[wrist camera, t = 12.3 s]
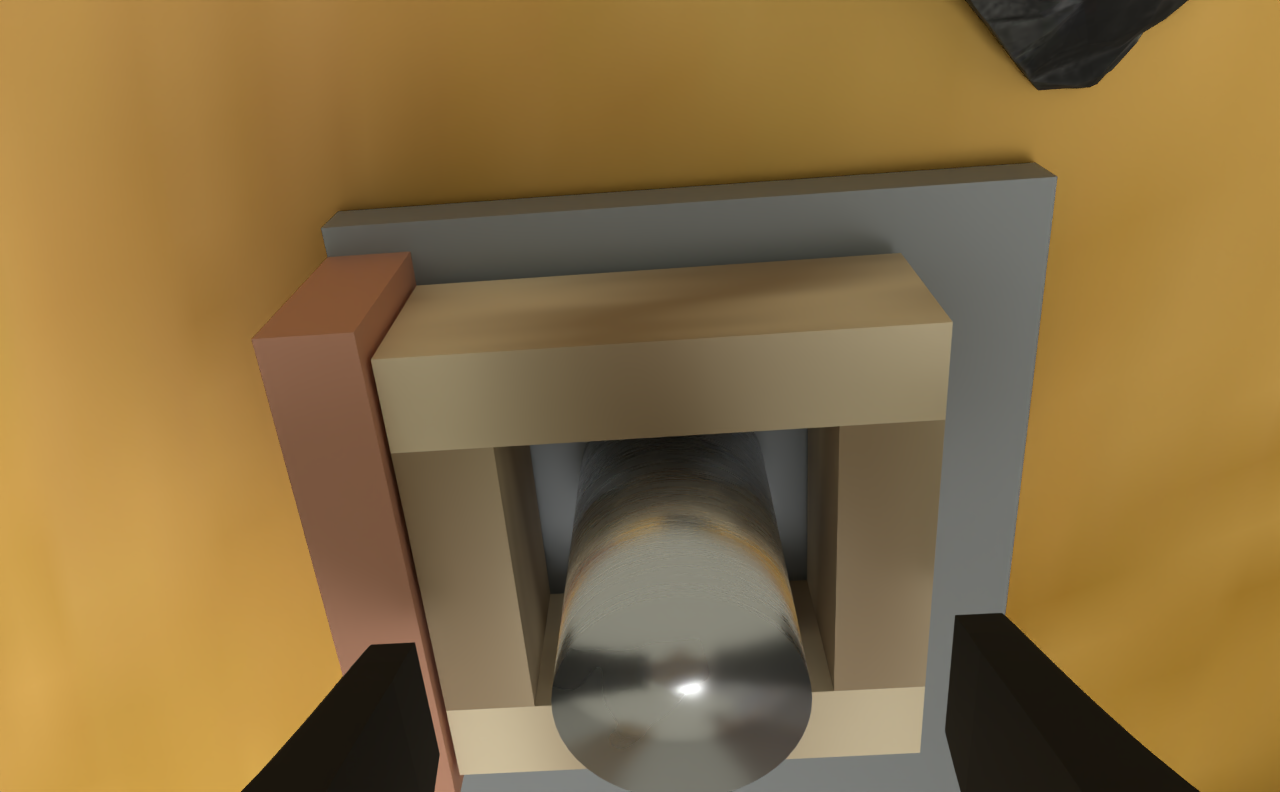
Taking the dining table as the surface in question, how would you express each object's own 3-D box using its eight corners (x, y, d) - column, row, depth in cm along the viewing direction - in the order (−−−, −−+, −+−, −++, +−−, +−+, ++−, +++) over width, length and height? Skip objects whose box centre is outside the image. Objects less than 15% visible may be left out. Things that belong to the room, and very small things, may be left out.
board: (1034, 162, 16) (1160, 243, 12) (957, 876, 24) (1019, 1066, 20) (338, 211, 17) (241, 304, 13) (485, 897, 25) (454, 1086, 21)
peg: (746, 372, 17) (790, 579, 12) (777, 530, 19) (828, 778, 13) (560, 409, 18) (520, 626, 12) (604, 561, 19) (587, 815, 14)
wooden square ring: (900, 252, 16) (953, 322, 13) (882, 636, 19) (919, 752, 17) (416, 285, 16) (371, 359, 13) (485, 657, 20) (459, 775, 17)
